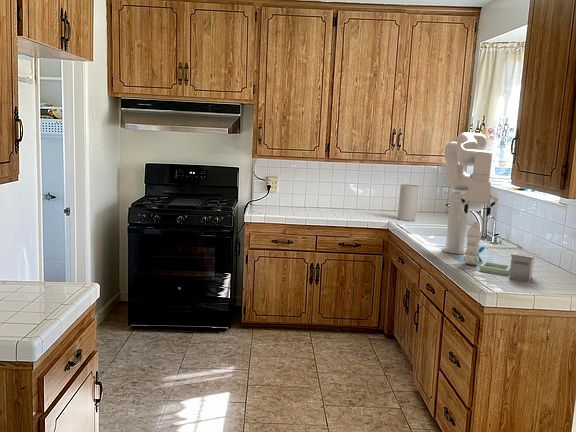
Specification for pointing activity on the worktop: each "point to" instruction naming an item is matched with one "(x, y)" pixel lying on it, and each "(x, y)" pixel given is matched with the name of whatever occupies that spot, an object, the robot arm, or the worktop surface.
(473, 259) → the plastic bottle
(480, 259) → the gear
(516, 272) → the grey box
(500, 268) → the tray
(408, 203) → the cylinder vase
